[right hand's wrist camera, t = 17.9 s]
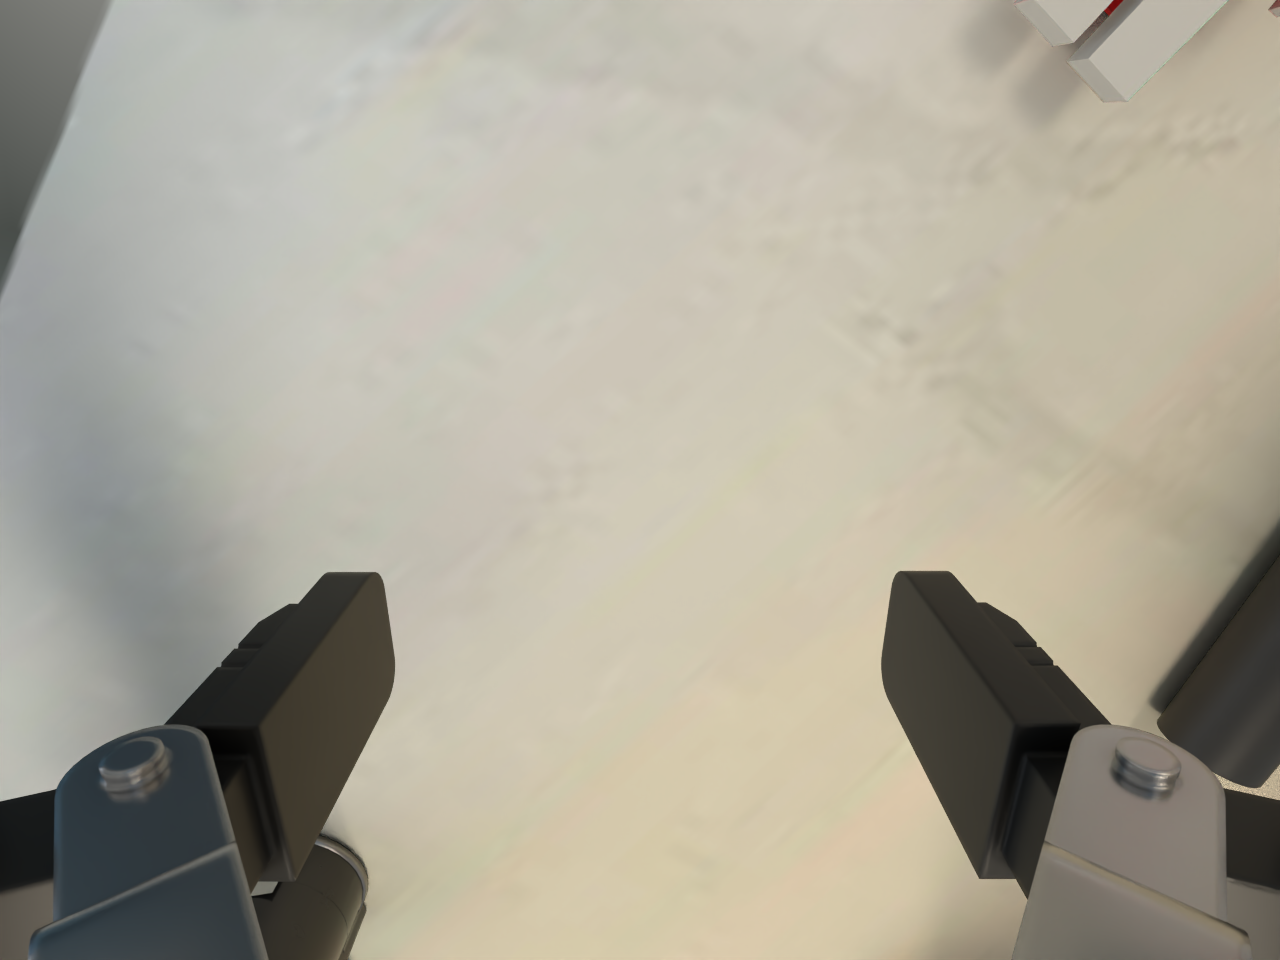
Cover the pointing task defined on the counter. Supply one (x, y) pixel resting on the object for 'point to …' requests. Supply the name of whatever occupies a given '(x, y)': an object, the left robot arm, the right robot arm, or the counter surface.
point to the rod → (1235, 694)
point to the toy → (1121, 37)
